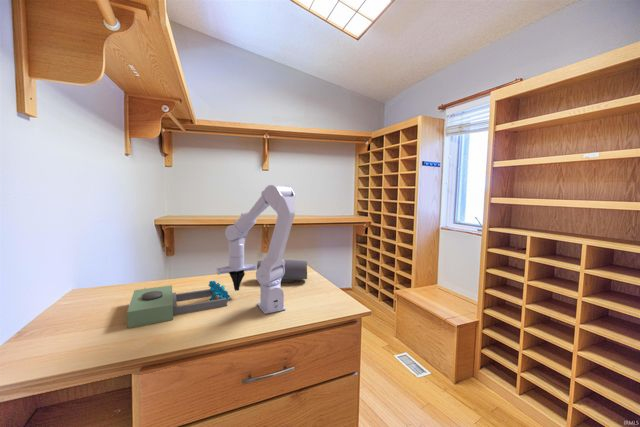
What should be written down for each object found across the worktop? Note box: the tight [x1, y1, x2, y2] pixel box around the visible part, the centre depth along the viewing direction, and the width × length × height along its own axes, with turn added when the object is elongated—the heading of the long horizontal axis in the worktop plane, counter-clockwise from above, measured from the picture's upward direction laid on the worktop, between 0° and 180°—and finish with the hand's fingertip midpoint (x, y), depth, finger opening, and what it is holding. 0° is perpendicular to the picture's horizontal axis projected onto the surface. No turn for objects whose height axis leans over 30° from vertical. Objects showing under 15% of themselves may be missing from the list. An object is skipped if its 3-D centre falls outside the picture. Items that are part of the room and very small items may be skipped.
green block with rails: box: [126, 284, 228, 329], centre depth 97 cm, size 20×29×6 cm
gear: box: [208, 280, 231, 302], centre depth 103 cm, size 11×6×10 cm
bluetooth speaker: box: [256, 259, 308, 283], centre depth 126 cm, size 23×9×10 cm, turn 94°
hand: (236, 289), depth 106 cm, fingers closed
